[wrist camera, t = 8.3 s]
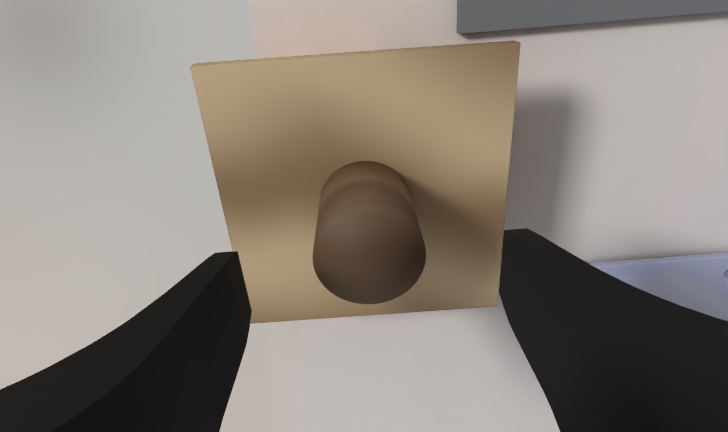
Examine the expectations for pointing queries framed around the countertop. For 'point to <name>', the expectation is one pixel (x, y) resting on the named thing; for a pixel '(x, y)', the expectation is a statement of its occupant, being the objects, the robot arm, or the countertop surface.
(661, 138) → the countertop surface
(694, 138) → the countertop surface
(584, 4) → the mat
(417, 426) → the countertop surface
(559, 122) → the countertop surface
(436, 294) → the lid
